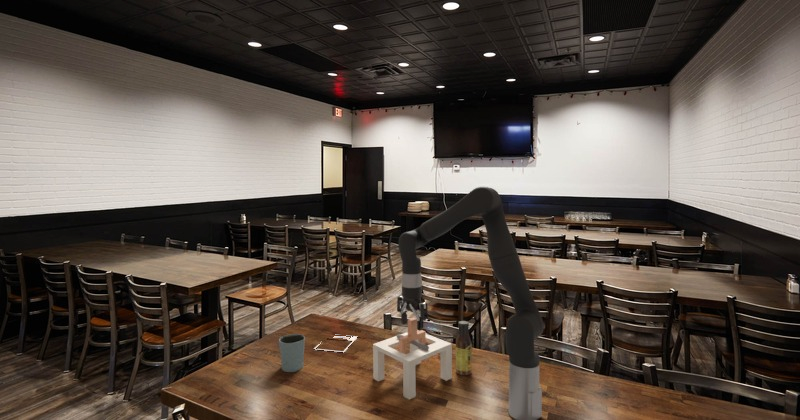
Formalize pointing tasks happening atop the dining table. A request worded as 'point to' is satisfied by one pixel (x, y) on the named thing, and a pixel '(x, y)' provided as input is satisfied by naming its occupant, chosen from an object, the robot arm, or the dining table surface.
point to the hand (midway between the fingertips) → (412, 326)
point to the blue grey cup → (292, 352)
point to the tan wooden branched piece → (411, 339)
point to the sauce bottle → (463, 350)
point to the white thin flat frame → (343, 338)
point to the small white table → (412, 359)
